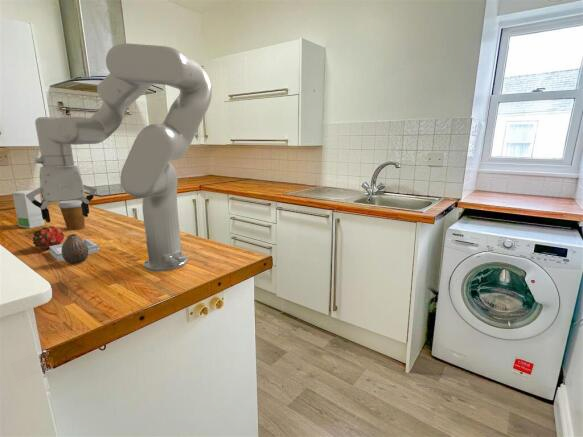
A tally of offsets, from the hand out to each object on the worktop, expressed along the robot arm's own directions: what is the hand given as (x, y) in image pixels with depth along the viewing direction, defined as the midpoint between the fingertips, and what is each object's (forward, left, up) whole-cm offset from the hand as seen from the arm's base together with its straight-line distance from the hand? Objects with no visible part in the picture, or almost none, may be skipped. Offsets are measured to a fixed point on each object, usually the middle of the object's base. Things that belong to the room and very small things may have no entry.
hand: (67, 218), depth 97 cm
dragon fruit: (+23, +2, -14) cm, 27 cm away
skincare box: (+66, +1, -14) cm, 67 cm away
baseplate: (+11, -2, -14) cm, 18 cm away
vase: (0, 0, -14) cm, 14 cm away
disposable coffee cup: (+46, -11, -14) cm, 49 cm away
